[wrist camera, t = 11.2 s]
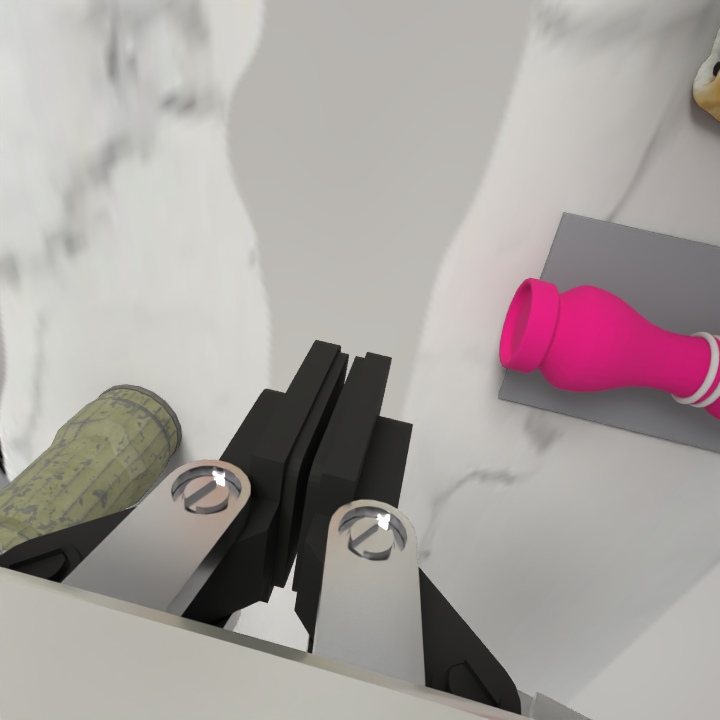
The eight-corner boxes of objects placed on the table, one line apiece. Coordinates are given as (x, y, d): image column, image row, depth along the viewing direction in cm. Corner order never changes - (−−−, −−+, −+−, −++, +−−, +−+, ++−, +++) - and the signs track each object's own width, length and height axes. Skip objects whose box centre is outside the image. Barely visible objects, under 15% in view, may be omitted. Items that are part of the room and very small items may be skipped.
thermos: (86, 449, 57) (-366, 903, 26) (105, 356, 51) (-447, 797, 20) (168, 485, 57) (-184, 975, 26) (195, 396, 51) (-212, 890, 21)
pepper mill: (546, 272, 34) (868, 354, 34) (518, 268, 41) (785, 336, 41) (510, 385, 35) (820, 464, 35) (489, 363, 42) (747, 428, 43)
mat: (563, 212, 39) (564, 213, 38) (850, 276, 37) (854, 278, 37) (498, 394, 46) (498, 397, 45) (736, 453, 45) (739, 456, 44)
